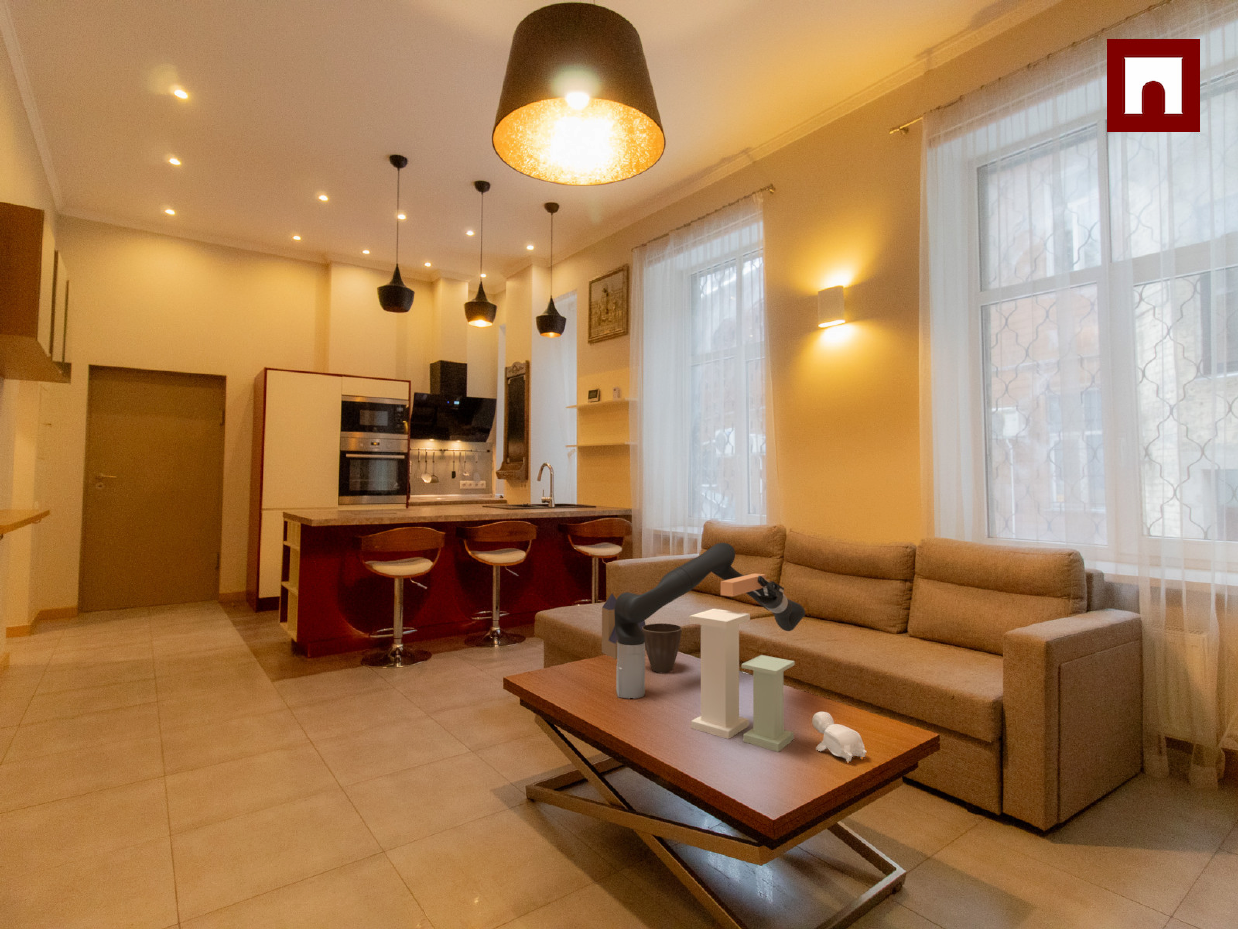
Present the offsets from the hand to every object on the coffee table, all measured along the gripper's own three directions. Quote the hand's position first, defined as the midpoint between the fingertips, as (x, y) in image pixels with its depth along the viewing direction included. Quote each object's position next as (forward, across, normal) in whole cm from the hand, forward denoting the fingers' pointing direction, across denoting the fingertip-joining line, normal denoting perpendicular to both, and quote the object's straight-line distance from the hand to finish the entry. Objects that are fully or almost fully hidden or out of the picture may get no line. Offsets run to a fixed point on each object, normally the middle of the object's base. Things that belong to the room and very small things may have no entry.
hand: (752, 577), depth 193 cm
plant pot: (-32, -45, +28) cm, 62 cm away
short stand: (-2, +15, +45) cm, 48 cm away
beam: (+3, 0, +6) cm, 7 cm away
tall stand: (-2, 0, +45) cm, 45 cm away
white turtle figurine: (-6, +32, +43) cm, 54 cm away
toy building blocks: (-42, -69, +23) cm, 84 cm away
